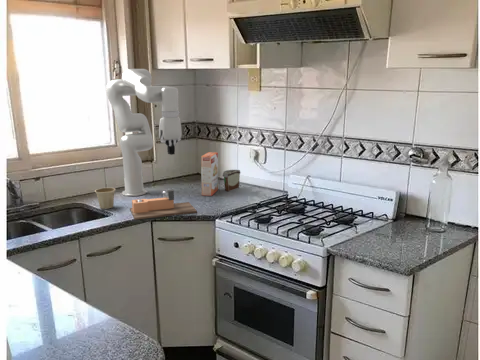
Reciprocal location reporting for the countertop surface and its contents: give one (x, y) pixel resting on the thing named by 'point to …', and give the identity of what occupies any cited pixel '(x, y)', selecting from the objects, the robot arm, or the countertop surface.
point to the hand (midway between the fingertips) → (171, 154)
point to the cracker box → (209, 173)
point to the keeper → (169, 194)
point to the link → (151, 204)
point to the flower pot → (105, 197)
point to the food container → (231, 179)
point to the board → (166, 211)
